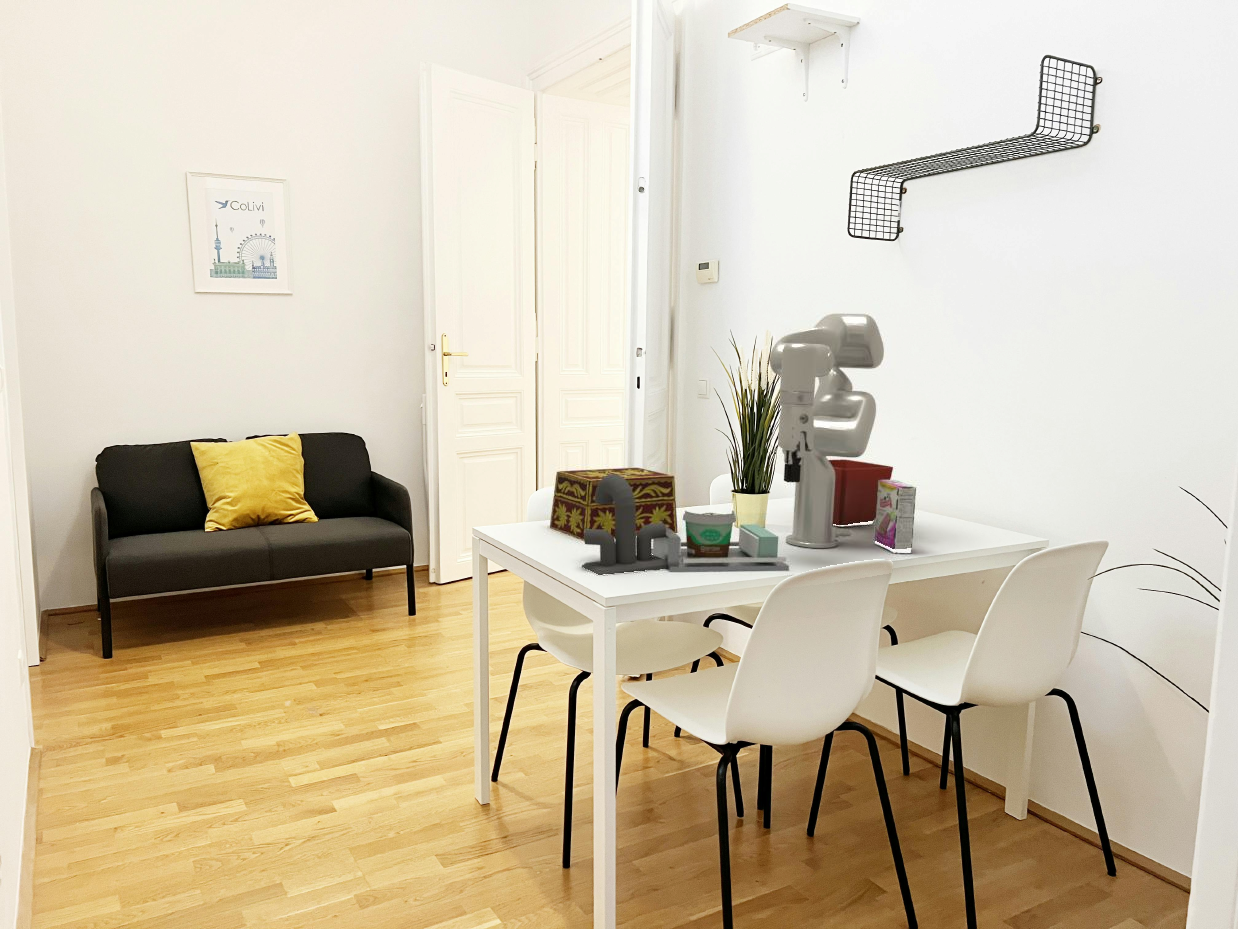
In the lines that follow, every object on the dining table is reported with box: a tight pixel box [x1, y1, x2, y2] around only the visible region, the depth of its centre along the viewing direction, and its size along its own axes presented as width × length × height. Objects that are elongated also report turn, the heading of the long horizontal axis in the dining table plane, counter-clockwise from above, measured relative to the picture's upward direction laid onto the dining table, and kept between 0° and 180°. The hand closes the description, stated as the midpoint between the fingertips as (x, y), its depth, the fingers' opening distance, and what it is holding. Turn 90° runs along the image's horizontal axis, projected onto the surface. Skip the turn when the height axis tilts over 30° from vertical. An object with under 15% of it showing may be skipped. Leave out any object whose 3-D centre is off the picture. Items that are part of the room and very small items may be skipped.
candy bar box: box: [874, 479, 917, 549], centre depth 224 cm, size 11×5×16 cm, turn 9°
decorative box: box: [549, 467, 678, 541], centre depth 236 cm, size 28×19×15 cm
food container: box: [682, 509, 737, 558], centre depth 204 cm, size 12×6×10 cm, turn 104°
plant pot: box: [828, 459, 894, 525], centre depth 257 cm, size 19×19×17 cm
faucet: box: [581, 474, 667, 576], centre depth 198 cm, size 18×16×20 cm
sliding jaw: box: [738, 523, 779, 563], centre depth 206 cm, size 4×14×6 cm, turn 11°
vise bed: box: [651, 525, 790, 573], centre depth 205 cm, size 26×18×7 cm
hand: (791, 481), depth 206 cm, fingers closed
